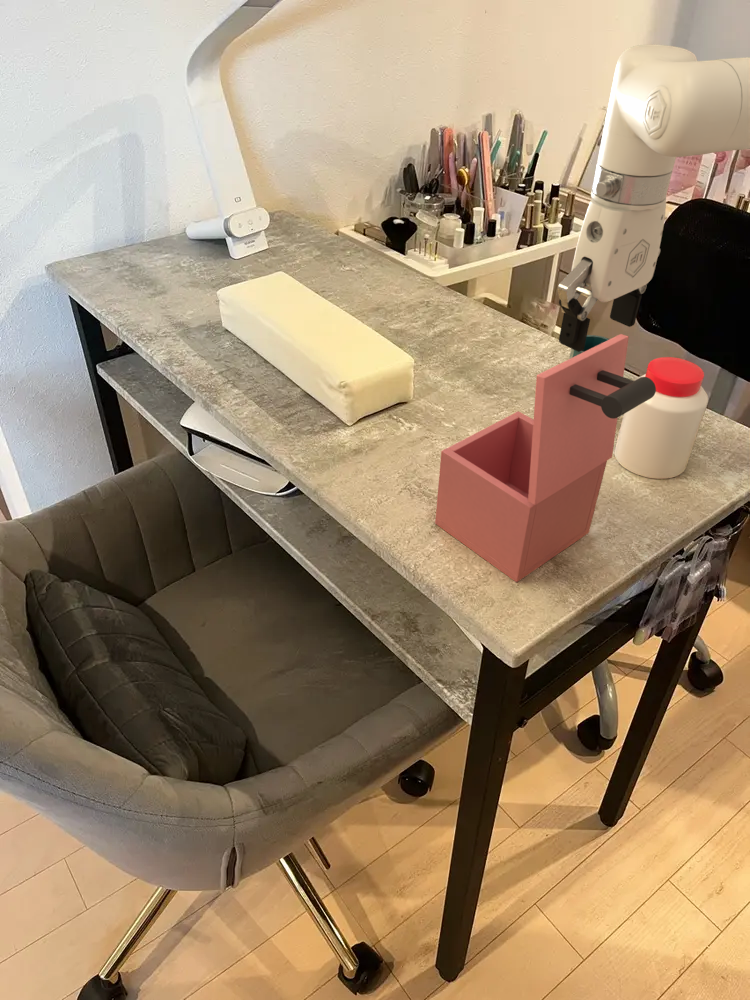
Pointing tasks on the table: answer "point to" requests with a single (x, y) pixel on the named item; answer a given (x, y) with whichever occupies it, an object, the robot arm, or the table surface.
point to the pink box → (509, 500)
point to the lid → (580, 415)
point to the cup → (589, 344)
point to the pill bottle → (664, 421)
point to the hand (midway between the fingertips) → (596, 334)
